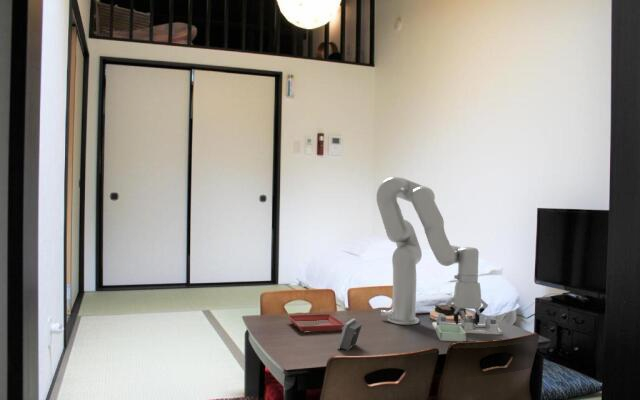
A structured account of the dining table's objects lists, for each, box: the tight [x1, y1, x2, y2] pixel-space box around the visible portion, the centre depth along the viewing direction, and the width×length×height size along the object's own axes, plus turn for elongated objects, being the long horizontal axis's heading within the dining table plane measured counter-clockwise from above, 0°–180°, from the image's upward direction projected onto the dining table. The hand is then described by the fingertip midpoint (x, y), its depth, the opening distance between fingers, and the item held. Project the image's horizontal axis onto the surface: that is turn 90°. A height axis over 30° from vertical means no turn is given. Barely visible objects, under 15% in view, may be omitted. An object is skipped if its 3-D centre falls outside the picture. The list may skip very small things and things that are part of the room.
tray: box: [435, 325, 467, 342], centre depth 199 cm, size 9×11×3 cm
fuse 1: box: [437, 313, 447, 325], centre depth 212 cm, size 2×7×5 cm, turn 175°
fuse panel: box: [431, 315, 503, 335], centre depth 211 cm, size 25×11×4 cm, turn 85°
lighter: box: [458, 308, 476, 330], centre depth 211 cm, size 7×2×8 cm, turn 114°
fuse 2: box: [486, 315, 497, 331], centre depth 210 cm, size 2×7×5 cm, turn 175°
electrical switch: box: [336, 318, 363, 351], centre depth 182 cm, size 9×5×9 cm, turn 158°
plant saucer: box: [287, 313, 345, 333], centre depth 208 cm, size 18×18×3 cm
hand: (466, 323), depth 211 cm, fingers closed on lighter, 7 cm apart
